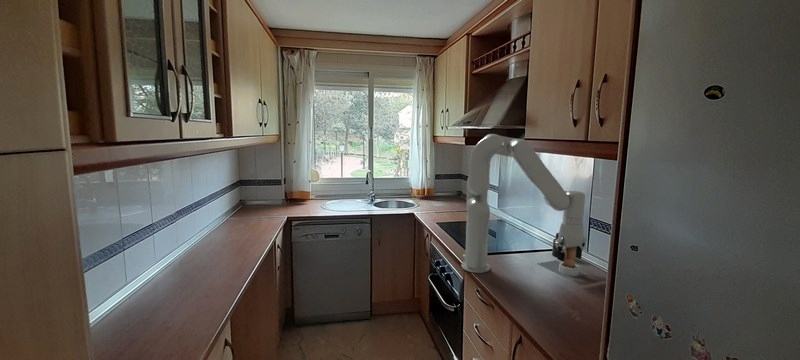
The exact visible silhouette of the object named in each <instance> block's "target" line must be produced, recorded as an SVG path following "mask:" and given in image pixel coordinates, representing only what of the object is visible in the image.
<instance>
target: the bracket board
mask: <svg viewBox="0 0 800 360" xmlns="http://www.w3.org/2000/svg"><path fill="white" fill-rule="evenodd" d="M563 263H564V261H563V262H562V261H560V260H558V259H557V260H549V261H544V262H539V263H536V265H539V266H541V267H543V268H544V269H547V270H549V271H551V272H552V273H555V274H557V275H559V276H561V277H563V278H566V279H569V278H574V277H579V276H581V277H582V276H584V275H585V276H586V275H587V274H588V273H586V272H585V271H582V270H580V266H579V264H576V263H575V268H568V267H564V266H563Z"/></svg>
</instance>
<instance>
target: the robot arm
mask: <svg viewBox="0 0 800 360" xmlns="http://www.w3.org/2000/svg"><path fill="white" fill-rule="evenodd" d="M496 155H499V156H504V157H510V158H513V159H514V161H515V162H516V163H517V164H518V166H519V168H520V169H521V170H522V172H523V173H524V175H525V176H526V178H527V179H529V181H530V182H531V183H532V184H534V185H535V186H536V188H537V189H538V190H539V191H540V192H541V194H542V195H543V199H544V201H545V203H546V204H547V205H548V206H549V207H551V209H553V210H554V211H558V212H563V216H562V217H563V218H562V222H561V224H560V225H559V226H560V227H559V230H558V233H559V235H558V240H557V241H555V246H556V249H557V251H558V257H556V258H557V261H559V262H564V259H565V252H564V251H565V250H566V248H570V247H576V257H575V259H582V257H583V256H582V253H583V250H584V247H585V246H586V243H587V240H588V239H587V238H586V237H584V223H583V221H584V213H585V203H586V194H585V193H584V192H582V191H577V190H568V191H567V190H565V189H564V188H563V187H562V185H561V184H560V183H559V182H558V180H557V179H556V177H554V175H553V174H552V172H551V171H550V169H549V168H548V167H547V166H546V164H545V163H544V162H543V161H542V159H541V158H540V156H539V155H538V154H537V152H536V151H535V149H534V148H533V146H532V145H531V144H530V143H529V141H527V140H525V139H521V138H515V137H508V136H503V135H499V134H496V133H488V134H487V135H485V136H484V137H483V138H482V139H481V140H480V141H478V142H477V143H476V145H475V146H474V148H473V149H472V151H471V154H470V157H469V158H470V160H469V174H468V175H469V176H468V177H467V179H466V180H467V182H466V203H465V204H466V206H465V207H466V225H465V234H466V235H465V253H464V254H463V255H462V258H464V260H463V261H462V263H461V268H462V269H463V270H464V271H467V272H470V273H473V274H474V273H475V274H484V273H487V272H489V271H490V270H491V265H490V264H489V263H487V262H488V246H489V245H488V244H489V242H488V241H489V224H490V214H491V209H490V205H489V203H488V194H489V193H488V192H489V189H490V185H491V182H490V173H491V172H490V169H491V168H490V167H491V161H492V159H493V157H494V156H496ZM562 247H563V248H562Z"/></svg>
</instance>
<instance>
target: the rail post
mask: <svg viewBox="0 0 800 360" xmlns="http://www.w3.org/2000/svg"><path fill="white" fill-rule="evenodd" d="M564 252H565V259H564V261H563V262H564V263H563V266H564V267H568V268H575V264H576V247H570V248H566V250H565V251H564Z"/></svg>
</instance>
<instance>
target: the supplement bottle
mask: <svg viewBox="0 0 800 360" xmlns="http://www.w3.org/2000/svg"><path fill="white" fill-rule="evenodd" d="M558 235H559V232H556V233H555V238H554V239H553V241H552V251H551V256H553V257H554V258H557V257H558V251H557V249H556V246H555V241H557V240H558ZM562 248H563V247H562Z"/></svg>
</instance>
